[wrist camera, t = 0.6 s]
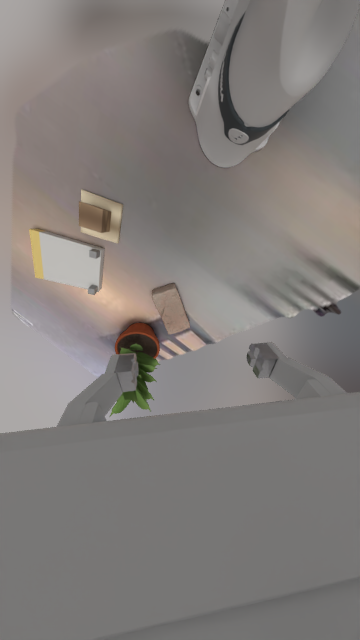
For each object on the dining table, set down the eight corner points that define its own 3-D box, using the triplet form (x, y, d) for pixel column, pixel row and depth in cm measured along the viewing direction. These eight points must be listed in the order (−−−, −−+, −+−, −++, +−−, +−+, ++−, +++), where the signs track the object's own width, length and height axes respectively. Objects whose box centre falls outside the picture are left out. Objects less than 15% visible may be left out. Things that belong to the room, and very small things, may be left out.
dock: (37, 228, 40) (19, 229, 35) (104, 248, 44) (97, 251, 39) (42, 274, 46) (27, 280, 41) (101, 288, 50) (94, 295, 45)
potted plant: (121, 349, 63) (95, 434, 38) (119, 316, 56) (85, 394, 30) (158, 350, 66) (158, 431, 40) (162, 319, 58) (164, 393, 33)
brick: (150, 290, 52) (149, 295, 48) (174, 281, 52) (175, 286, 48) (168, 328, 61) (169, 335, 57) (189, 321, 60) (191, 328, 56)
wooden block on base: (84, 190, 38) (66, 182, 31) (123, 205, 40) (115, 201, 33) (83, 231, 42) (67, 233, 35) (118, 242, 44) (111, 246, 37)
